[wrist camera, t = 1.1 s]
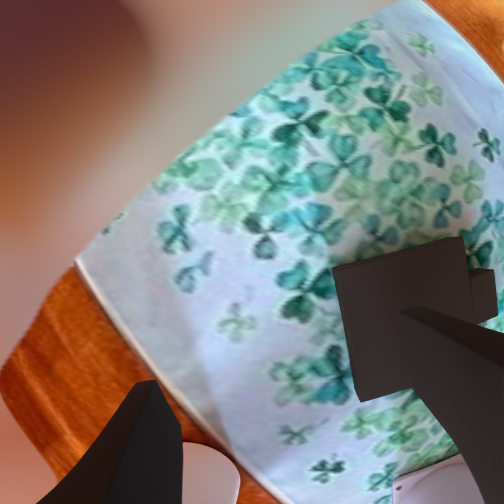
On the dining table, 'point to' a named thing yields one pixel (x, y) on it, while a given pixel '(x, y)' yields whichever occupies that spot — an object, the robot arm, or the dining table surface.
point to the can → (208, 476)
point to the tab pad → (405, 305)
